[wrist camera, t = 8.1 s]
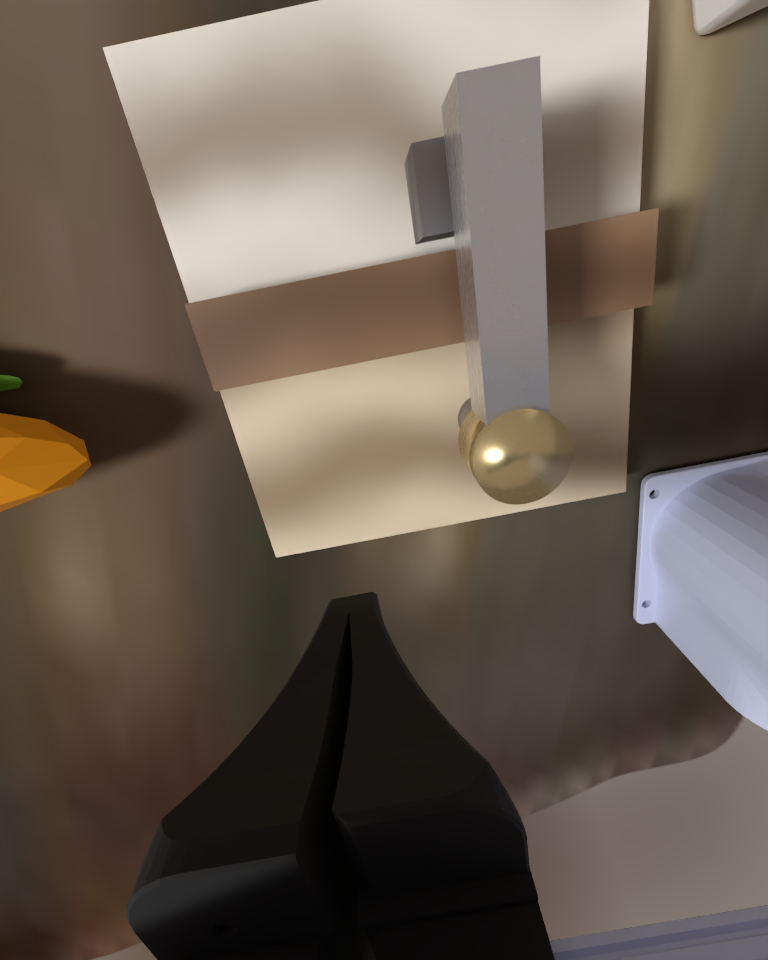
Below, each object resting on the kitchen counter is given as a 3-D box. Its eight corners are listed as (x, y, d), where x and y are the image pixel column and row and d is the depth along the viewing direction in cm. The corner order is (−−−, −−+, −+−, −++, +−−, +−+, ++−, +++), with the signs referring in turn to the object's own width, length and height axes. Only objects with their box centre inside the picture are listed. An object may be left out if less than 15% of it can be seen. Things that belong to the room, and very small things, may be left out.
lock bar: (545, 468, 17) (573, 494, 14) (462, 483, 17) (479, 512, 15) (532, 89, 12) (571, 43, 10) (419, 112, 12) (432, 71, 10)
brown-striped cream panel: (609, 479, 22) (662, 518, 18) (281, 541, 22) (264, 592, 18) (622, -36, 14) (718, -156, 11) (128, 72, 15) (47, -6, 11)
